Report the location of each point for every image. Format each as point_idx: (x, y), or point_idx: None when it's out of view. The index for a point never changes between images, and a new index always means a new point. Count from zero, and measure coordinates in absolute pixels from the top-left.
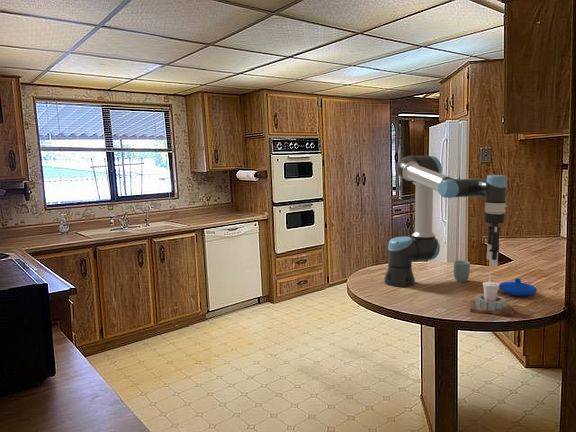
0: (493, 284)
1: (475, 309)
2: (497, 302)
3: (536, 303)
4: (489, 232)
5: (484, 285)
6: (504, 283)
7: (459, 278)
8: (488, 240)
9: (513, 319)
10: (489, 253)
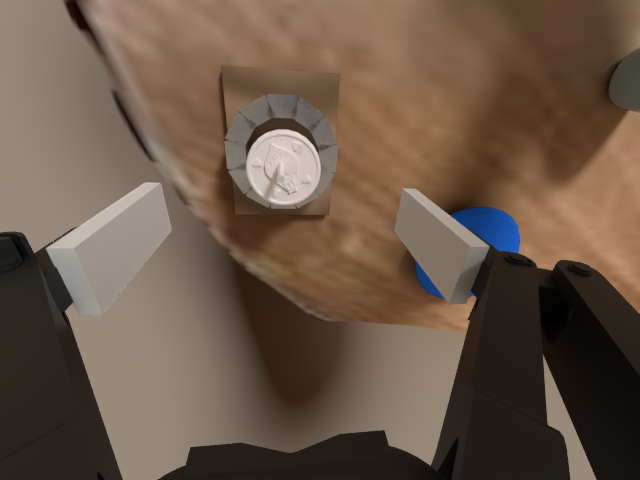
0: (274, 181)
1: (223, 87)
2: (235, 175)
3: (370, 279)
4: (458, 454)
5: (262, 136)
6: (493, 227)
7: (627, 63)
8: (490, 284)
9: (202, 207)
10: (418, 223)
